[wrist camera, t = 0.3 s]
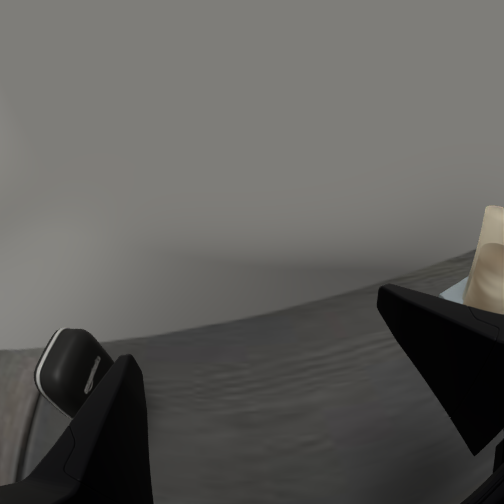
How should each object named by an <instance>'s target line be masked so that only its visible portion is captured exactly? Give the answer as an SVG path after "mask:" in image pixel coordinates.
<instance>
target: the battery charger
mask: <svg viewBox="0 0 504 504" xmlns="http://www.w3.org/2000/svg"><path fill="white" fill-rule="evenodd" d="M113 364H114V361H113V360H112V359H111V357H110V356H109V355H108V353H107V352H106V351H105V350H104V348H103V347H102V346H101V345H100V344H99V342H98V341H97V340H96V339H95V338H94V337H93V336H92V335H91V334H90V333H89V332H87V331H86V330H83V329H70V328H61V329H59V330H57V331H56V332H55V333H54V334H53V336H52V337H51V339H50V341H49V342H48V344H47V346H46V348H45V349H44V351H43V353H42V355H41V357H40V359H39V361H38V363H37V365H36V368H35V371H34V381H35V385H36V387H37V389H38V390H39V392H40V393H41V394H42V395H43V396H44V397H45V398H46V399H47V400H48V401H49V402H50V403H51V404H52V405H53V406H54V407H55V408H57V409H58V410H59V411H60V412H61V413H63V414H64V415H65V416H67V417H68V418H69V419H71V420H73V418H74V417H75V415H76V414H77V413H78V411H79V410H80V408H81V407H82V406H83V404H84V403H85V402H86V400H87V399H88V397H89V396H90V395H91V393H92V392H93V391H94V389H95V388H96V387H97V385H98V384H99V382H100V381H101V380H102V378H103V377H104V376H105V374H106V373H107V372H108V370H109V369H110V368H111V367H112V365H113Z"/></svg>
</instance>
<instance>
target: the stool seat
mask: <svg viewBox="0 0 504 504" xmlns="http://www.w3.org/2000/svg"><path fill="white" fill-rule="evenodd" d="M487 243H498V244H502V245H504V208H503V207H500V206H495V205H490V206H487V207H486V208H485V214H484V219H483V224H482V229H481V233H480V237H479V242H478V246H477V249H476V253H475V257H474V261H473V264H472V267H471V271H470V274H469V276H468V277H467V278H465V279H463V280H462V281H460V282H459V283H457V284H456V285H454V286H452V287H451V288H449V289H447V290H446V291H444V292H442V293H441V294H440V295H439V298H443V299H446V300H450V301H453V302H457V303H460V304H463V302H464V299H465V297H466V294H467V291H468V288H469V285H470V282H471V279H472V276H473V273H474V270H475V267H476V263H477V260H478V256H479V253H480V249H481V247H482V246H483V245H484V244H487Z"/></svg>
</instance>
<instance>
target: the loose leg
mask: <svg viewBox="0 0 504 504" xmlns="http://www.w3.org/2000/svg"><path fill="white" fill-rule="evenodd" d="M463 304H464V305H467V306H471V307H474V308H478V309H482V310H485V311H490V312H494V313H499V314H504V245H502V244H498V243H487V244H484V245H483V246H482V247H481V249H480V253H479V256H478V260H477V263H476V267H475V270H474V273H473V276H472V279H471V282H470V285H469V288H468V291H467V294H466V297H465V299H464V302H463Z"/></svg>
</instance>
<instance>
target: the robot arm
mask: <svg viewBox="0 0 504 504" xmlns="http://www.w3.org/2000/svg"><path fill="white" fill-rule="evenodd" d="M377 308H378V311H379V312H380V314H381V316H382V317H383V319H384V321H385V322H386V324H387V326H388V327H389V329H390V331H391V332H392V334H393V336H394V337H395V339H396V340H397V342H398V343H399V345H400V346H401V347H402V349H403V350H404V351H405V353H406V354H407V356H408V357H409V358H410V360H411V361H412V362H413V364H414V365H415V367H416V368H417V370H418V371H419V372H420V374H421V375H422V377H423V378H424V379H425V381H426V382H427V384H428V385H429V387H430V388H431V390H432V391H433V393H434V394H435V396H436V397H437V399H438V400H439V402H440V403H441V405H442V406H443V408H444V409H445V411H446V412H447V414H448V415H449V417H451V418H450V419H451V420H452V422H453V423H454V425H455V426H456V428H457V430H458V431H459V433H460V435H461V436H462V438H463V439H464V441H465V443H466V444H467V446H468V448H469V449H470V451H471V453H472V454H473V455H474V456H475V455H477V454H478V453H479V452H480V451H481V450H482V449H483V448H484V447H485V446H486V445H487V444H488V443H489V442H490V441H491V440H492V439H493V438H494V437H495V436H496V435H497V434H498V433H499V432H500V431H501V430H502V429H503V431H504V314H499V313H494V312H490V311H485V310H482V309H478V308H474V307H471V306H467V305H464V304H460V303H457V302H453V301H450V300H446V299H443V298H439V297H436V296H432V295H429V294H425V293H422V292H418V291H415V290H411V289H407V288H404V287H400V286H397V285H393V284H389V283H388V284H385V285H382V286H380V287H379V290H378V298H377ZM69 425H70V426H68V427H67V428H66V429H65V431H64V432H63V434H62V435H61V436H60V438H59V439H58V441H57V442H56V443H55V445H54V446H53V447H52V448H51V449H50V451H49V452H48V453H47V454H46V456H45V457H44V458H43V459H42V460H41V462H40V463H39V464H38V465H37V466H36V468H35V469H34V470H33V471H32V472H31V474H30V475H29V476H28V477H26V478H25V479H24V480H22V481H20V482H17V483H13V484H8V485H4V486H0V504H154V503H153V495H152V486H151V475H150V463H149V447H148V423H147V408H146V400H145V392H144V383H143V375H142V371H141V369H140V367H139V366H138V364H137V362H136V361H135V359H134V357H133V356H132V355H131V354H126V355H121V356H119V357H118V359H117V360H116V361H115V363H114V364H113V365H112V367H111V368H110V369H109V370H108V372H107V373H106V374H105V376H104V377H103V378H102V380H101V381H100V382H99V384H98V385H97V387H96V388H95V389H94V391H93V392H92V393H91V395H90V396H89V397H88V399H87V400H86V402H85V403H84V404H83V406H82V407H81V408H80V410H79V411H78V413H77V414H76V415H75V417H74V418H73V420H72V421H71V422H70V424H69ZM461 504H504V439H503V440H502V441H501V442H500V443H499V444H498V445H497V446H496V451H495V460H494V467H493V474H492V475H491V476H490V477H489V478H488V479H487V480H486V481H485V482H484V483H483V484H482V485H481V486H480V487H479V488H478V489H477V490H476V491H474V492H473V493H472V494H471V495H470V496H469V497H468V498H466V499H465V500H464V501H463V502H462V503H461Z"/></svg>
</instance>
